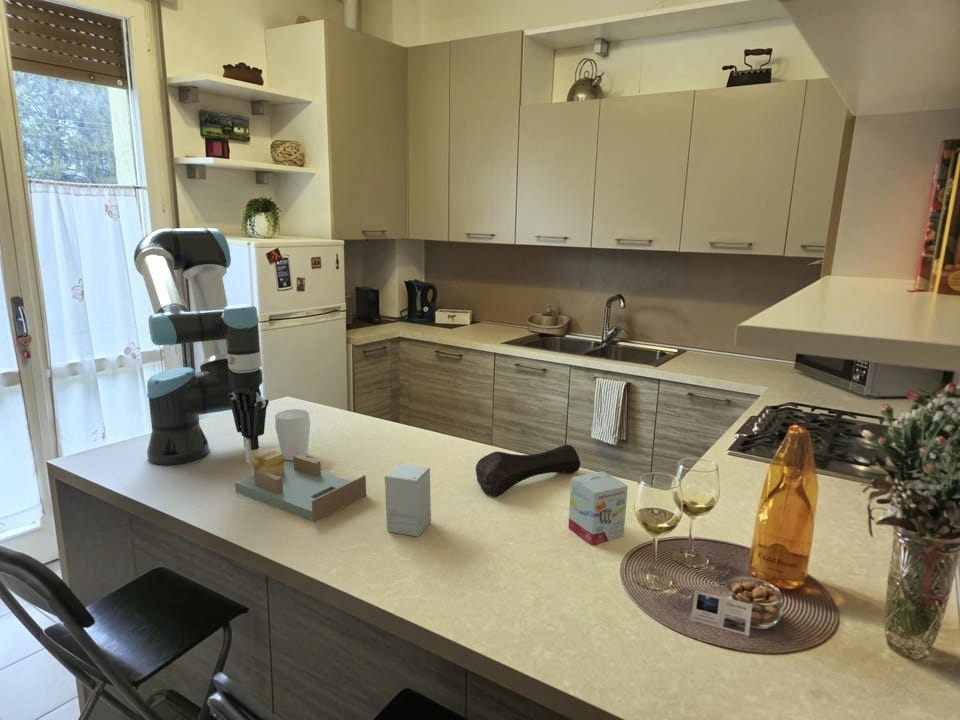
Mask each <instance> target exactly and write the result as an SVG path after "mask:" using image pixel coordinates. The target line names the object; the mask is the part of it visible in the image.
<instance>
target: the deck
mask: <svg viewBox="0 0 960 720" xmlns="http://www.w3.org/2000/svg"><path fill="white" fill-rule="evenodd" d="M366 479H367V477H366V475H365V474H364V475H362V476H359V477H357V478H355V479H353V480H349V479H345V478H343V477H339V476H337V475H333V474H330V473H327V472H324V471H322V470H321V461H320V460H316V459H313V458H310V457H307V456H306V457H304V456H301V455H295V456H293V461H289V460H286V461H284V473H282V474H280V475H277V476H276V475H273V474H270V473H268V472H265V471H262V470H257V471H255V472H254V471H253V474H252V475H250V476H248V477H244V478H242V479H240V480H238V481H235V482H234V488H235V492H236V493H238V494H241V495H243V496H245V497H248V498H251V499H252V500H256V501H259V502H261V503H263V504H266V505H269V506H271V507H274V508H277V509H279V510H281V511H284V512H287V513H290V514H292V515H294V516H297V517H299V518H302V519H305V520H308V521H310V522H313V523H316V522H318V521H320V520H322V519H323V518H326V517H327V516H329V515H331V514H333V513H335V512H337V511H339V510H341V509H343V508H346V507H347V506H349V505H351V504H353V503H355V502H356V501H358V500H361V499H363V498H364V497H366V496H367V482H366V481H367V480H366Z"/></svg>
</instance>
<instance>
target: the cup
mask: <svg viewBox="0 0 960 720" xmlns="http://www.w3.org/2000/svg"><path fill="white" fill-rule="evenodd" d="M274 417H275V419H274V420H275V421H274V422H275V425H274V426H275V432H276V435H277V441H278V445H279V449H280V453H283V457H284V460H285V461H289V460H290V462H293V456H295V455H301V456H304V457H307V456H308V455H309V453H308V452H309V443H310V431H311V430H310V429H311V421H310V420H311V419H310V418H311V417H310V413H309V411H308V410H304V409H288V410H287V409H285V410H282V411H280V412H277V413H276V414H275V416H274Z"/></svg>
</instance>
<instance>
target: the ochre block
mask: <svg viewBox="0 0 960 720" xmlns="http://www.w3.org/2000/svg"><path fill="white" fill-rule="evenodd" d="M284 460H285V459H284V457H283V453H281V451H277V450H274V449H271V448H270V449H266V450H264V451H262V452H261V451H260V452H259V453H258V454H255V455H253V462H252V463H253V464H252V465H253V473H254V472H255V471H257V470H262V471H265V472H268V473H270V474H273V475H276V476H277V475H280V474H282V473H284V463H285V461H284Z"/></svg>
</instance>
